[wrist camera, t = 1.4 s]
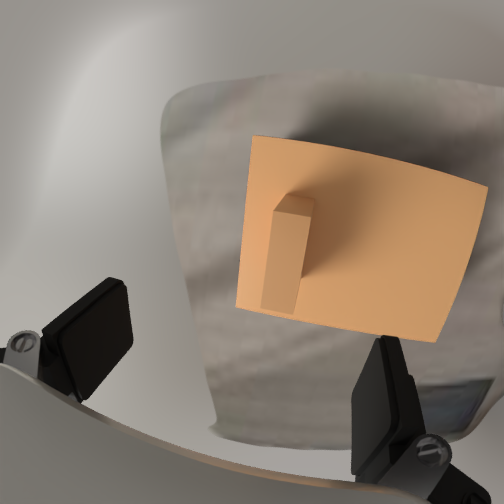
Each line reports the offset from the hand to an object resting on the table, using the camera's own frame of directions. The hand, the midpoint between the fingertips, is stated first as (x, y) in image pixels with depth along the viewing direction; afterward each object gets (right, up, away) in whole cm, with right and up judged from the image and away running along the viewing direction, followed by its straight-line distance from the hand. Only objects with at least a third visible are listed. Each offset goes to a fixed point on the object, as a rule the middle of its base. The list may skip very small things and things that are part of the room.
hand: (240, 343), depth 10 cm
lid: (+9, +4, +12) cm, 15 cm away
